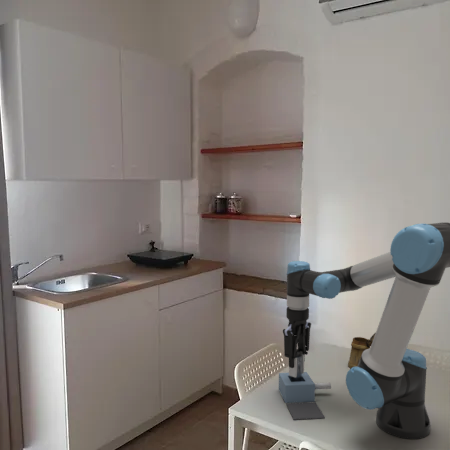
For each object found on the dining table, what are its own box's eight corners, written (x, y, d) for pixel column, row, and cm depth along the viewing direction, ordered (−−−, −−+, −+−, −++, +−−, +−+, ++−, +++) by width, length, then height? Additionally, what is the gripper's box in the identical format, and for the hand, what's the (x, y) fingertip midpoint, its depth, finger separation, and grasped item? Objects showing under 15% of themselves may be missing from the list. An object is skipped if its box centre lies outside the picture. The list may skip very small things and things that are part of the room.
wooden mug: (375, 377, 170) (377, 330, 168) (343, 366, 179) (344, 322, 178) (386, 370, 176) (388, 325, 174) (355, 360, 186) (356, 318, 184)
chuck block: (334, 400, 151) (335, 383, 150) (285, 402, 149) (285, 385, 149) (325, 387, 161) (325, 371, 160) (278, 389, 159) (278, 373, 159)
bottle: (295, 381, 157) (295, 348, 156) (303, 384, 154) (304, 350, 153) (289, 384, 154) (289, 350, 153) (297, 388, 152) (298, 353, 151)
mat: (325, 418, 139) (325, 417, 139) (293, 420, 138) (293, 418, 138) (315, 403, 149) (315, 401, 149) (285, 404, 148) (285, 403, 148)
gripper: (302, 300, 160) (301, 364, 162) (273, 309, 149) (272, 378, 151) (320, 304, 155) (319, 370, 157) (292, 314, 143) (290, 385, 145)
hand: (296, 374), depth 154 cm, fingers closed on bottle, 4 cm apart
